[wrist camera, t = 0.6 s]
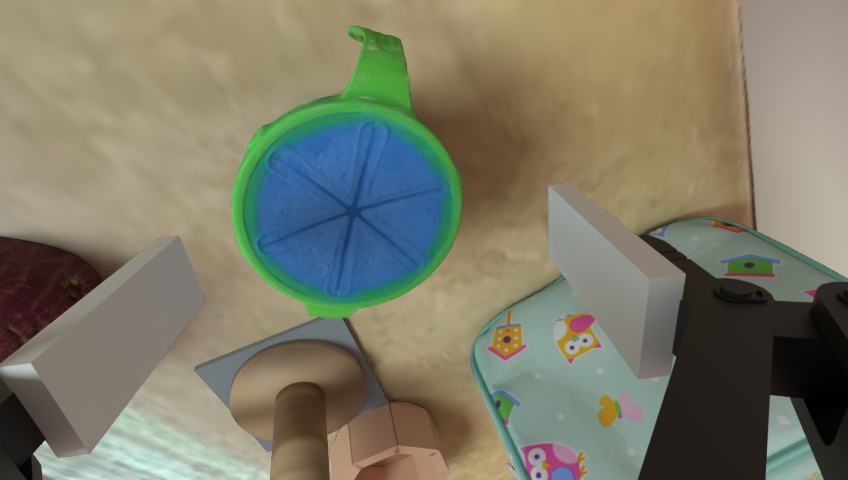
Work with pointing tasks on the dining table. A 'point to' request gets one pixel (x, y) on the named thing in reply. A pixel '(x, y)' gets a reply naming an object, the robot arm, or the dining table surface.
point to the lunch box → (622, 367)
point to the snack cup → (349, 192)
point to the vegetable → (37, 289)
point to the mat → (326, 329)
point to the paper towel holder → (298, 402)
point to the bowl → (389, 445)
